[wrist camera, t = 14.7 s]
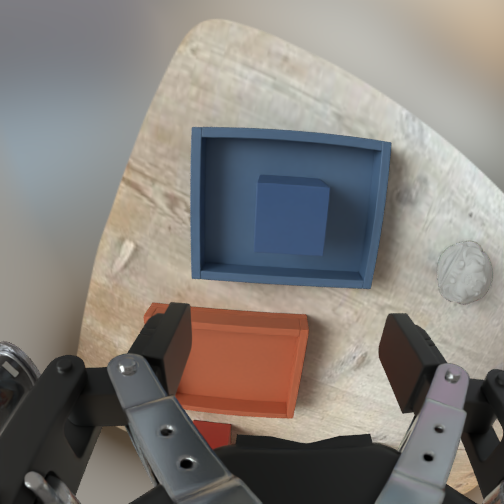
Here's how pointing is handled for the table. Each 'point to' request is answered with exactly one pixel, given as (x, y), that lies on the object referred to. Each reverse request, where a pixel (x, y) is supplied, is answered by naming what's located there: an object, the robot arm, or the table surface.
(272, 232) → the blue block
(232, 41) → the table surface
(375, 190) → the blue tray
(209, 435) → the red block
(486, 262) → the frog figurine
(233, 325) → the orange tray
